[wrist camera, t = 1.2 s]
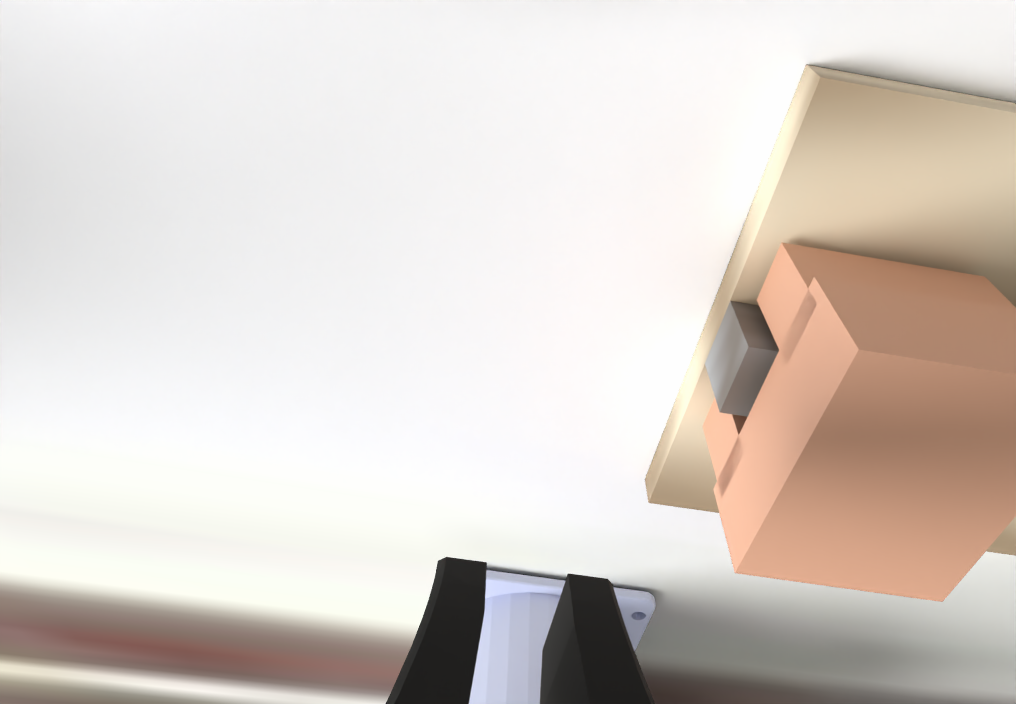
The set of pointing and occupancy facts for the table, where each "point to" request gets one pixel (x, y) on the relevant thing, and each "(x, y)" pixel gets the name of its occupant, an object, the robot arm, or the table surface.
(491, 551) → the table surface
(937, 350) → the block
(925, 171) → the rail board
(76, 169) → the table surface
